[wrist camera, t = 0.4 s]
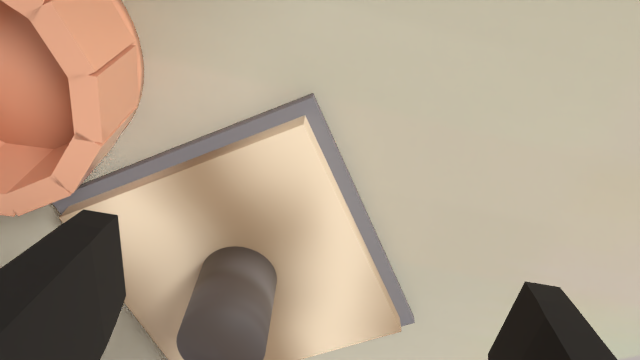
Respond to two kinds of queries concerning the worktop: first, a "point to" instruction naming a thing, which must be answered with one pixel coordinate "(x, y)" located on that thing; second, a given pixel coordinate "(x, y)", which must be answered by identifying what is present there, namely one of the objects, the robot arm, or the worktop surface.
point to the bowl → (62, 94)
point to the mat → (247, 129)
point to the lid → (247, 254)
